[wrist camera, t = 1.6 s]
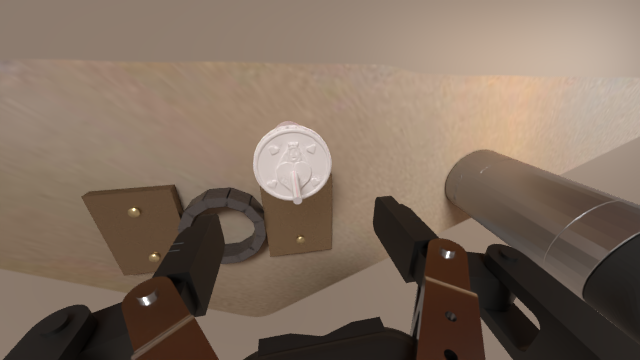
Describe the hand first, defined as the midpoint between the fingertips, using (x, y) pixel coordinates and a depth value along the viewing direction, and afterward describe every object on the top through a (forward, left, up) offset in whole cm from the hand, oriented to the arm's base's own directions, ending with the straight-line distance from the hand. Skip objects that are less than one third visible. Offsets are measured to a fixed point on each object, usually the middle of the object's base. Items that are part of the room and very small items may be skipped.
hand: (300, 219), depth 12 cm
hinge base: (+9, +11, -17) cm, 22 cm away
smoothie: (0, 0, -17) cm, 17 cm away
